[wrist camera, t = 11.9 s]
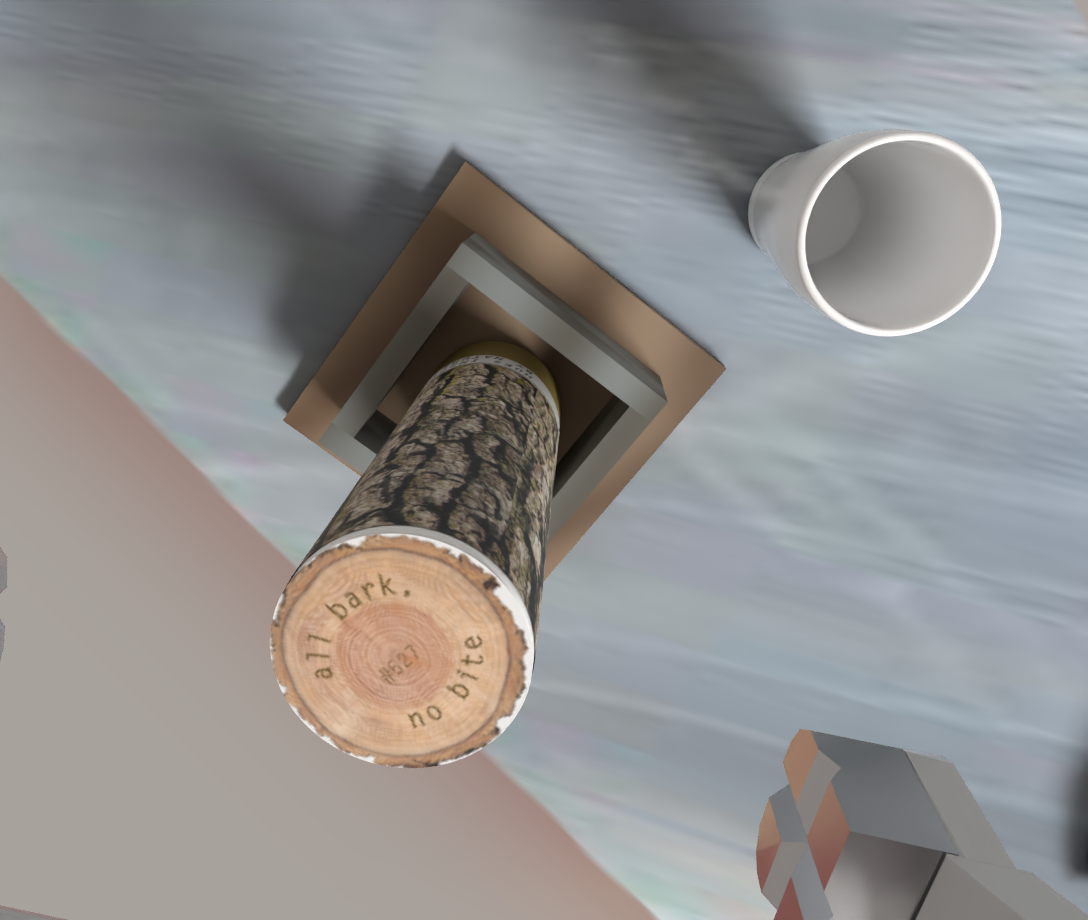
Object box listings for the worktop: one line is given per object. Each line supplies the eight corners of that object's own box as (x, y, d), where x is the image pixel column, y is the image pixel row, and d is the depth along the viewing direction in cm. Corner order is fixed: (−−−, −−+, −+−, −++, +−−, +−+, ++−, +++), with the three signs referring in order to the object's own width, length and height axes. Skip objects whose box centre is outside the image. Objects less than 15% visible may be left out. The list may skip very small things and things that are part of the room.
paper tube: (400, 400, 48) (214, 646, 24) (496, 309, 46) (397, 478, 23) (493, 493, 49) (404, 812, 26) (590, 408, 48) (589, 665, 24)
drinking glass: (767, 306, 47) (845, 375, 32) (706, 181, 45) (759, 196, 31) (897, 237, 45) (1037, 278, 31) (838, 106, 44) (958, 85, 29)
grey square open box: (288, 415, 50) (249, 449, 44) (467, 161, 45) (450, 163, 39) (531, 588, 52) (523, 642, 46) (723, 364, 48) (741, 393, 42)
